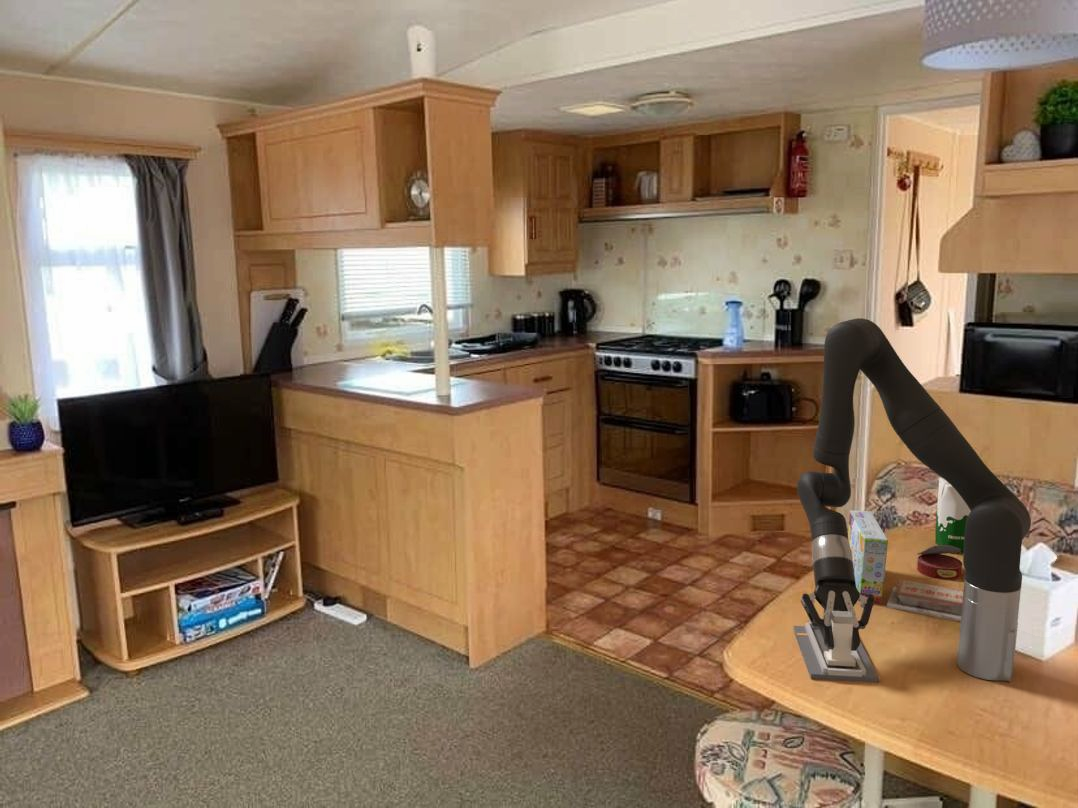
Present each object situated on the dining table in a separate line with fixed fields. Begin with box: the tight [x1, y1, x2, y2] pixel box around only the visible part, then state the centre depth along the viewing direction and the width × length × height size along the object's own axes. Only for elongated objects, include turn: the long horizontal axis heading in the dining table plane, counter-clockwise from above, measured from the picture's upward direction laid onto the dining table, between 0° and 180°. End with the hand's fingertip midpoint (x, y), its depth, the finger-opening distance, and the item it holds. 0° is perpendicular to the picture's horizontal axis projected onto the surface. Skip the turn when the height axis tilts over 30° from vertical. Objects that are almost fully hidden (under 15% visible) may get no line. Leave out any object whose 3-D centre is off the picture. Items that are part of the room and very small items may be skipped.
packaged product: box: [886, 579, 964, 622], centre depth 183 cm, size 18×5×10 cm
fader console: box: [792, 621, 880, 684], centre depth 163 cm, size 12×20×2 cm, turn 172°
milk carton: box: [934, 477, 971, 554], centre depth 216 cm, size 9×9×20 cm
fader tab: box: [824, 611, 856, 667], centre depth 157 cm, size 5×4×10 cm
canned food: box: [916, 545, 963, 581], centre depth 202 cm, size 11×10×10 cm
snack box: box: [847, 509, 889, 603], centre depth 195 cm, size 21×6×15 cm, turn 168°
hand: (842, 648), depth 155 cm, fingers closed on fader tab, 3 cm apart
